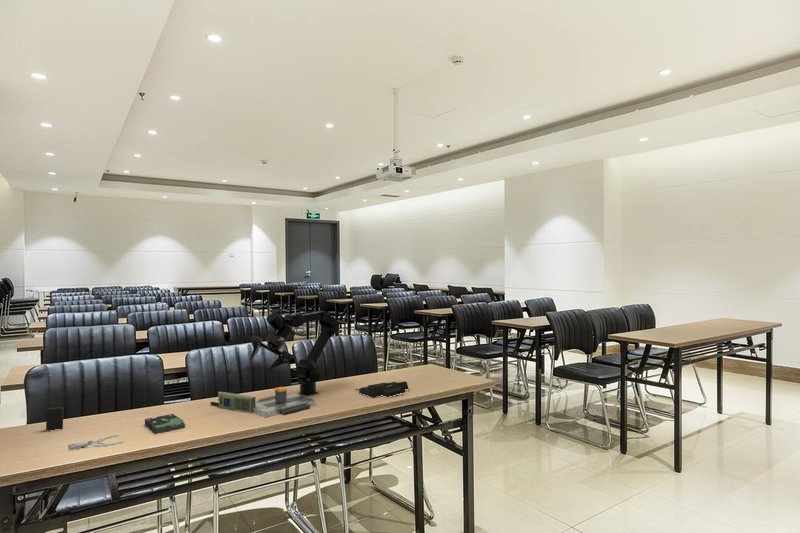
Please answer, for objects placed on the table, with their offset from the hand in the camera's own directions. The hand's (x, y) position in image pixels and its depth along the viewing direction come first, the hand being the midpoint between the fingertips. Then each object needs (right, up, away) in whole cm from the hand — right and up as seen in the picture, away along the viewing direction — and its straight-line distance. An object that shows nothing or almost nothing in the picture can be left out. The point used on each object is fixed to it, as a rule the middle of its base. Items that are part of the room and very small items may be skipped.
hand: (259, 365), depth 204 cm
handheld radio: (-11, -19, 0) cm, 22 cm away
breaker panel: (+9, -18, +1) cm, 20 cm away
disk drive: (-29, -19, -23) cm, 41 cm away
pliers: (-44, -19, -41) cm, 62 cm away
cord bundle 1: (+16, -18, -5) cm, 24 cm away
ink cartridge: (-68, -19, -25) cm, 75 cm away
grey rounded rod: (+3, -18, +8) cm, 20 cm away
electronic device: (+49, -18, +28) cm, 59 cm away
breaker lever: (+9, -15, +1) cm, 18 cm away
